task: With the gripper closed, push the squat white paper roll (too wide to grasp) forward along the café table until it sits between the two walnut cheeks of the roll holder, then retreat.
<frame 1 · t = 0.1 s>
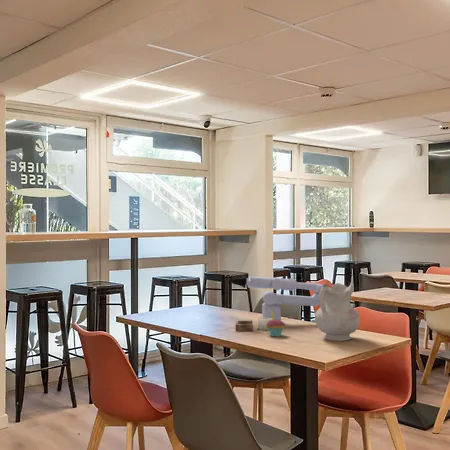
hand: (232, 280, 289), 22 cm above the table, fingers open, 7 cm apart
holder: (244, 328, 272), on the table
cupcake: (275, 335, 256), on the table
ceramic pitcher: (336, 339, 247), on the table
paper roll: (265, 328, 272), on the table
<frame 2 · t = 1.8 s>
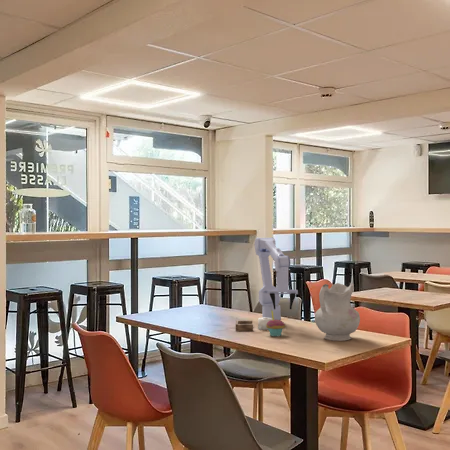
hand: (282, 309, 272), 9 cm above the table, fingers open, 7 cm apart
nothing on the table moved.
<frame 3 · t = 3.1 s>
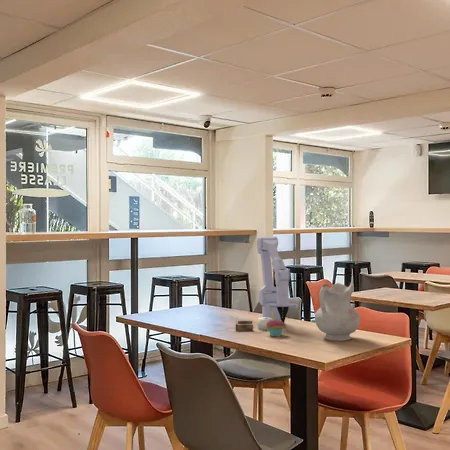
hand: (282, 322, 272), 3 cm above the table, fingers closed
nothing on the table moved.
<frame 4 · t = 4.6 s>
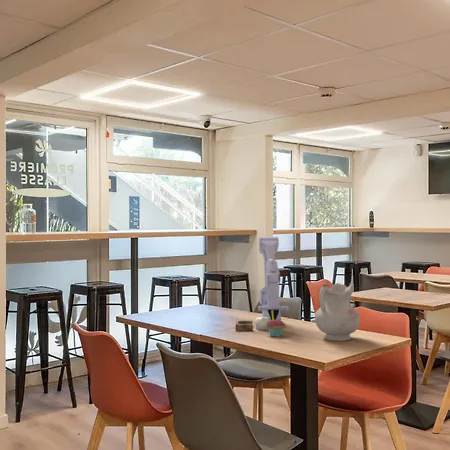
hand: (273, 325, 272), 2 cm above the table, fingers closed
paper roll: (263, 328, 272), on the table, touching gripper
everything else where it was.
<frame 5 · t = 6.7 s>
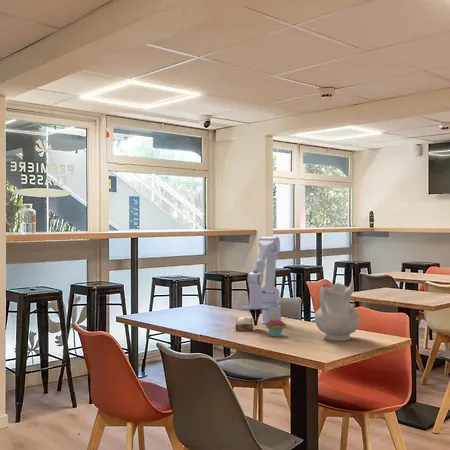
hand: (255, 325, 272), 2 cm above the table, fingers closed
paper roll: (245, 328, 272), on the table, touching gripper
everything else where it was.
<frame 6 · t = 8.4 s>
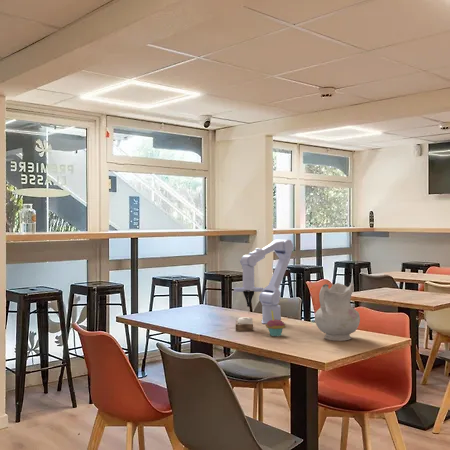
hand: (248, 306, 280), 10 cm above the table, fingers closed
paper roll: (245, 328, 272), on the table
everything else where it was.
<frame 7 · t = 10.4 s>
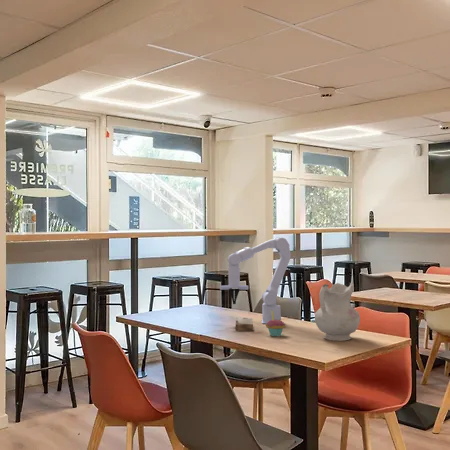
hand: (234, 303, 287), 10 cm above the table, fingers closed
nothing on the table moved.
at the end: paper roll inside the target area (0.2 cm from its centre), on the table; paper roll tilted 0°; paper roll touching table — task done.
